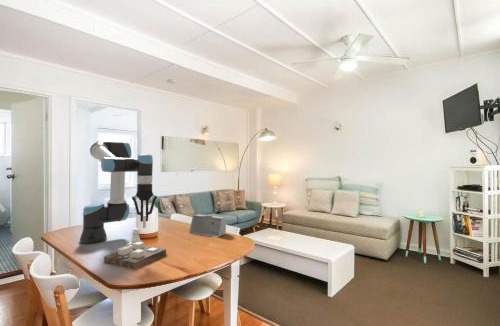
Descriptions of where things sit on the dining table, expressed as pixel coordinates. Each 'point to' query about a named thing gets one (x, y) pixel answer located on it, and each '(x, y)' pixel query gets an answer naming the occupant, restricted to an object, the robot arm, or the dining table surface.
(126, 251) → the button
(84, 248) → the dining table surface
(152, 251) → the button
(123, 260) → the board
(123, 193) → the robot arm
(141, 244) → the button
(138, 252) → the button
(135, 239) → the seated beast figurine
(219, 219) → the grey rectangular block
